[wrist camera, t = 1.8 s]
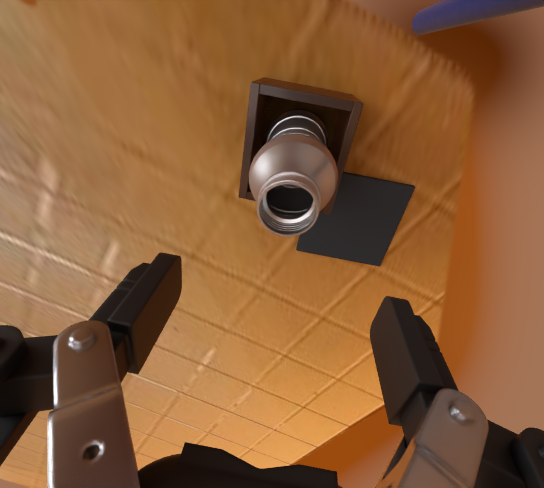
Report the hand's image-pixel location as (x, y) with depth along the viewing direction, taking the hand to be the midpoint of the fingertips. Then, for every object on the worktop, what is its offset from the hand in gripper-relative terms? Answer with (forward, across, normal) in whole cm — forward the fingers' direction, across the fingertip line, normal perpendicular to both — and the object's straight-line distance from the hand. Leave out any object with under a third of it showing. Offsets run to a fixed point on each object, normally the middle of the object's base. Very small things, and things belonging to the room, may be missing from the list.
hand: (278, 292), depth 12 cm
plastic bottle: (+27, 0, 0) cm, 27 cm away
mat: (+27, -9, +9) cm, 30 cm away
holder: (+27, 0, 0) cm, 27 cm away
